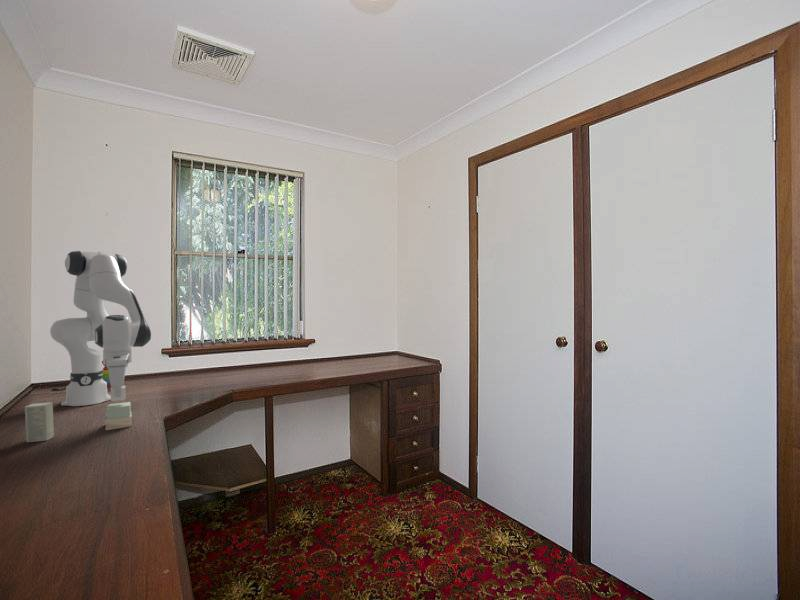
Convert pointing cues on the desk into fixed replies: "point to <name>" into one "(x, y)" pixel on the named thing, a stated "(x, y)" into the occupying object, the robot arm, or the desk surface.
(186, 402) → the desk surface
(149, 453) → the desk surface
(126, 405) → the green tower middle block
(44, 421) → the skincare box
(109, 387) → the stacking bear
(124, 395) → the cream block
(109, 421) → the tower base
